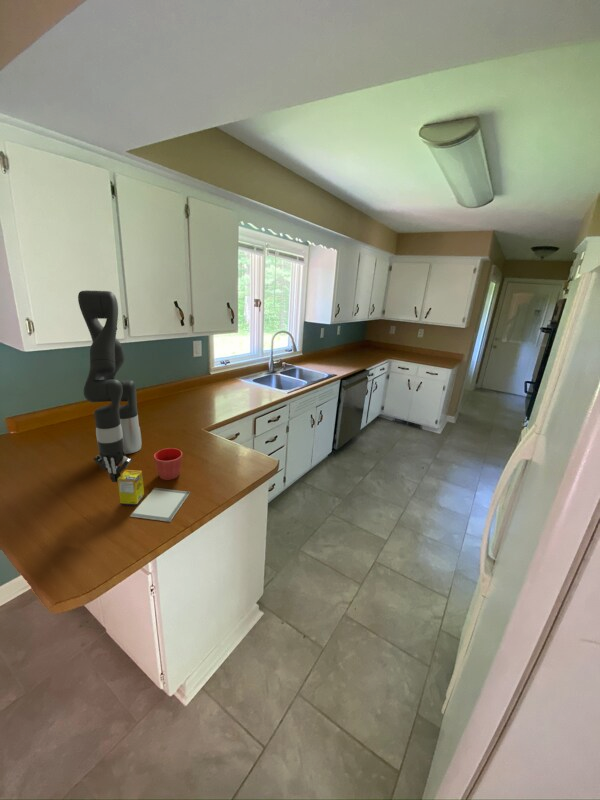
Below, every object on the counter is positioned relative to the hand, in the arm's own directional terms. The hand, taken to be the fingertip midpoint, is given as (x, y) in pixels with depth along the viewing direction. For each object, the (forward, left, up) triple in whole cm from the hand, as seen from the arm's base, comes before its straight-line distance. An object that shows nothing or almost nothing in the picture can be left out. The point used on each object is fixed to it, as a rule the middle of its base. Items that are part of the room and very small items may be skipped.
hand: (115, 480), depth 112 cm
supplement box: (0, +5, -8) cm, 10 cm away
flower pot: (-18, +10, -8) cm, 22 cm away
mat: (0, +16, -8) cm, 18 cm away
